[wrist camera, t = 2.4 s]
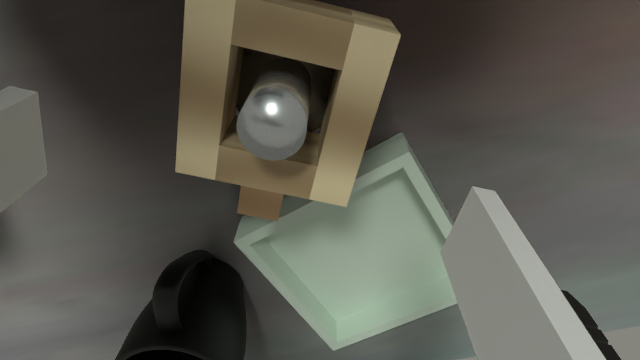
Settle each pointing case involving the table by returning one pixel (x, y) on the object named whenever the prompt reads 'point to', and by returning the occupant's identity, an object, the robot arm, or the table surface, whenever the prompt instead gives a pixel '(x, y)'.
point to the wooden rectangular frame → (296, 43)
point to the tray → (359, 250)
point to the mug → (191, 314)
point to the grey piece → (279, 103)
